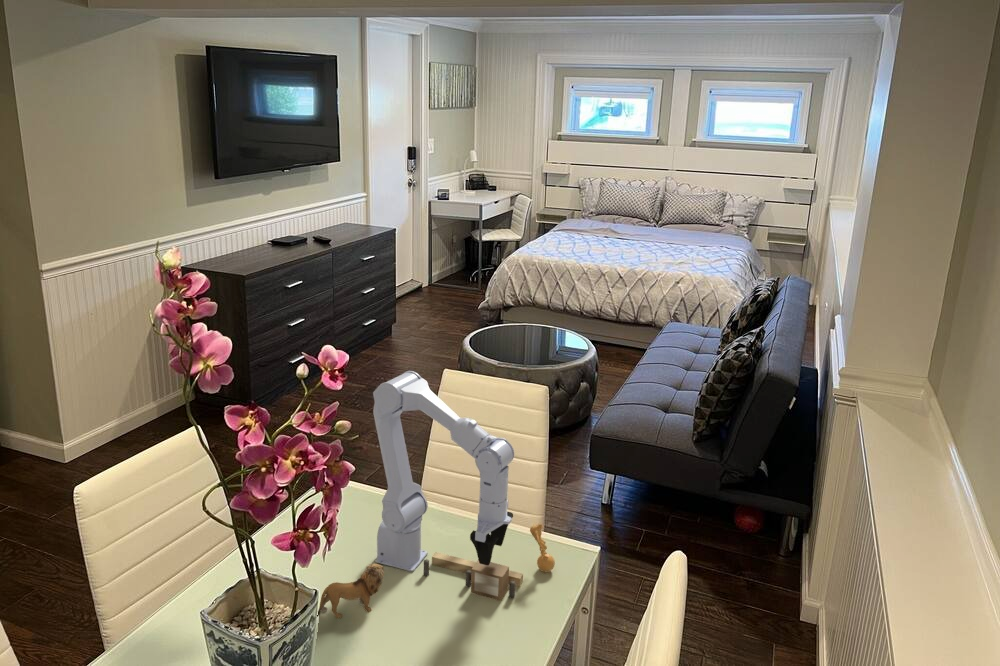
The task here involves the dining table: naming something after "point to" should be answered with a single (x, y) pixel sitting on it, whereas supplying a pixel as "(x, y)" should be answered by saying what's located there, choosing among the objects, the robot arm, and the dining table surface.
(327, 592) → the lion figurine
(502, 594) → the wooden box
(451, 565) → the ledge
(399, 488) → the robot arm
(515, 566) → the dining table surface
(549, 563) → the figurine
